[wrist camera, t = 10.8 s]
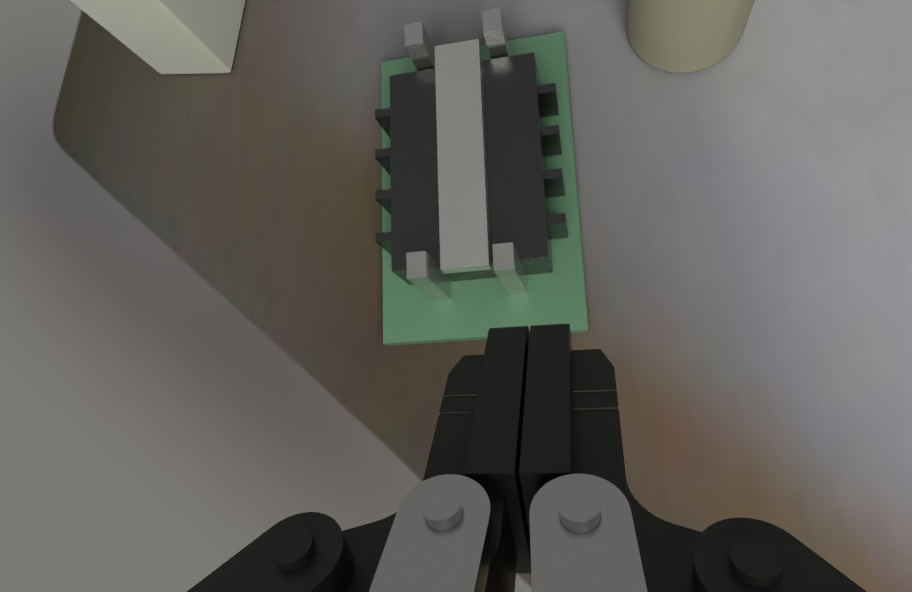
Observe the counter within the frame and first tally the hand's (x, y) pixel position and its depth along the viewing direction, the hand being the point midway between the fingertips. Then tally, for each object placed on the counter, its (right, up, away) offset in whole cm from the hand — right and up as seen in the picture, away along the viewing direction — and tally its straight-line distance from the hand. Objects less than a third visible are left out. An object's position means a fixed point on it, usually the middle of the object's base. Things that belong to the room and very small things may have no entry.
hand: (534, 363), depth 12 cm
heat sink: (0, +10, +32) cm, 34 cm away
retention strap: (-1, +10, +28) cm, 30 cm away
